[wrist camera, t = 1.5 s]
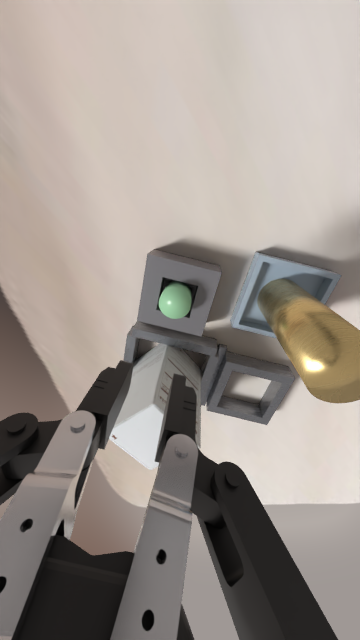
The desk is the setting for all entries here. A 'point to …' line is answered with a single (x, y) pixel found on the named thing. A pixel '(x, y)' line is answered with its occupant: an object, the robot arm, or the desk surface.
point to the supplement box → (153, 401)
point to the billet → (314, 340)
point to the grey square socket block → (181, 269)
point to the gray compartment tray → (219, 371)
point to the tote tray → (271, 269)
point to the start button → (175, 300)
